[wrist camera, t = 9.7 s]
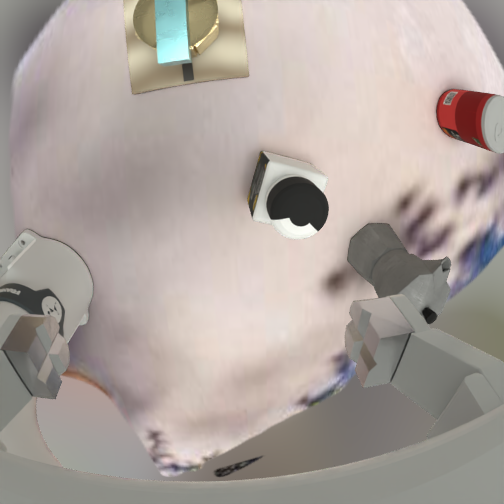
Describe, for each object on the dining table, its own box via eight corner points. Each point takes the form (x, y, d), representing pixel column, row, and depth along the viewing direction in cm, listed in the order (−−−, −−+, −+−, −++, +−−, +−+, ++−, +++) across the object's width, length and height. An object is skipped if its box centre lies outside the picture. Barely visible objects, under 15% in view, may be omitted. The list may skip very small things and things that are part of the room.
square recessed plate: (248, 76, 34) (253, 72, 29) (135, 94, 34) (120, 94, 28) (237, -21, 28) (241, -40, 22) (126, -3, 27) (111, -18, 21)
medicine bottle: (260, 149, 39) (277, 171, 28) (312, 163, 40) (345, 189, 30) (246, 201, 42) (256, 240, 31) (296, 212, 44) (322, 253, 33)
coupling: (215, -17, 26) (215, -50, 17) (220, 66, 31) (221, 55, 22) (146, -7, 25) (124, -36, 17) (150, 75, 30) (127, 69, 22)
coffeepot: (371, 200, 44) (442, 260, 28) (413, 223, 46) (483, 283, 30) (322, 285, 50) (362, 368, 34) (366, 299, 52) (412, 375, 36)
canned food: (435, 137, 40) (483, 153, 30) (434, 86, 36) (484, 91, 26) (468, 138, 40) (515, 154, 30) (468, 91, 36) (517, 99, 27)
